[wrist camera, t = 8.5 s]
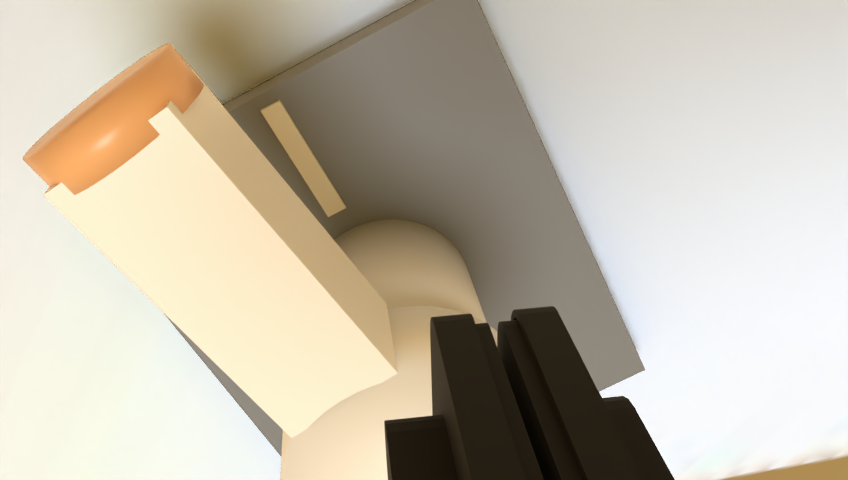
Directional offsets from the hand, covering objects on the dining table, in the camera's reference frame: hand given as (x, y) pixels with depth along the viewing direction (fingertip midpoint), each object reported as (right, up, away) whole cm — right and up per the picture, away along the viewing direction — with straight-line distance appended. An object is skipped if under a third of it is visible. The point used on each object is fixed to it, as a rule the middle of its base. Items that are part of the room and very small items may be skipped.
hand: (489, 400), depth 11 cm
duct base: (-3, +1, +24) cm, 24 cm away
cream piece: (-4, 0, +14) cm, 15 cm away
